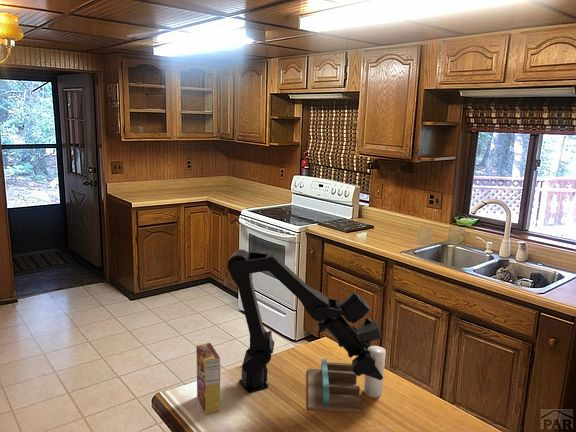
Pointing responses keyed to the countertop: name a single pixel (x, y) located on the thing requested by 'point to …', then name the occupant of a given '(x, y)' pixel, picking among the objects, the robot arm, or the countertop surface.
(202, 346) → the candy box
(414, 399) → the countertop surface
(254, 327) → the robot arm
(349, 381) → the comb rack
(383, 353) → the white cylinder
